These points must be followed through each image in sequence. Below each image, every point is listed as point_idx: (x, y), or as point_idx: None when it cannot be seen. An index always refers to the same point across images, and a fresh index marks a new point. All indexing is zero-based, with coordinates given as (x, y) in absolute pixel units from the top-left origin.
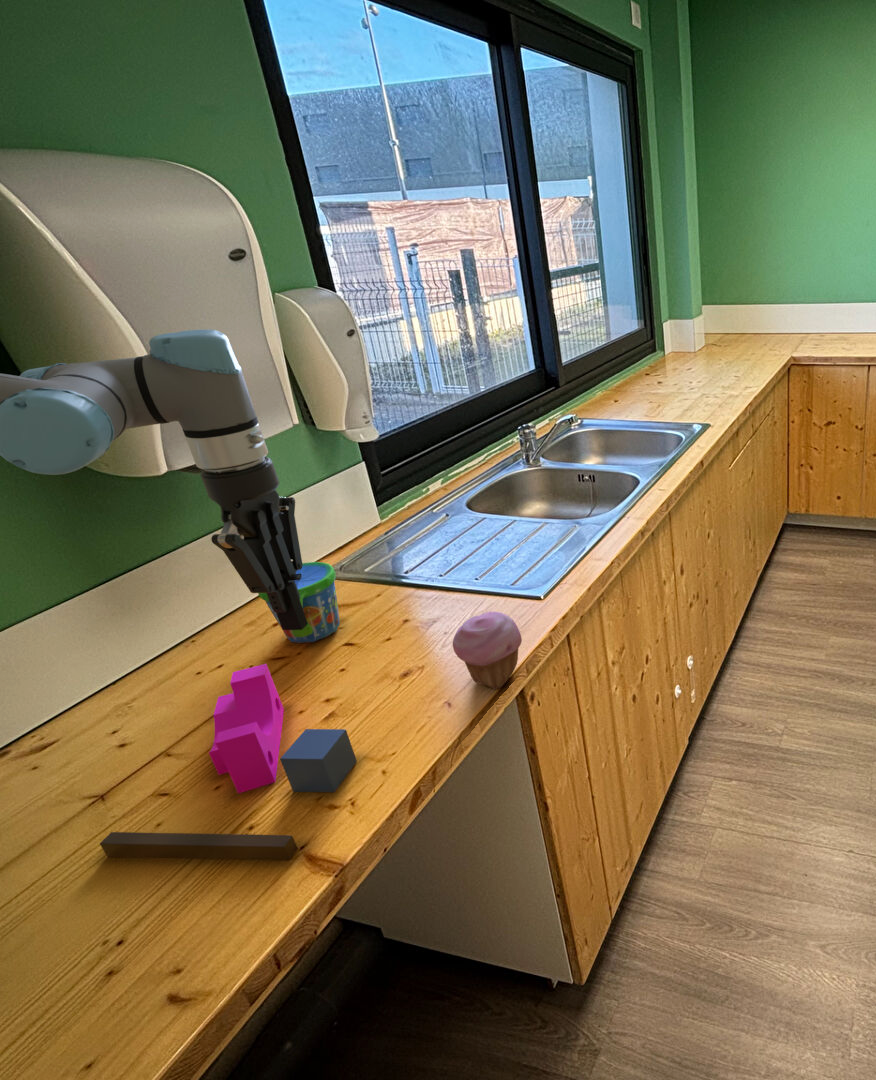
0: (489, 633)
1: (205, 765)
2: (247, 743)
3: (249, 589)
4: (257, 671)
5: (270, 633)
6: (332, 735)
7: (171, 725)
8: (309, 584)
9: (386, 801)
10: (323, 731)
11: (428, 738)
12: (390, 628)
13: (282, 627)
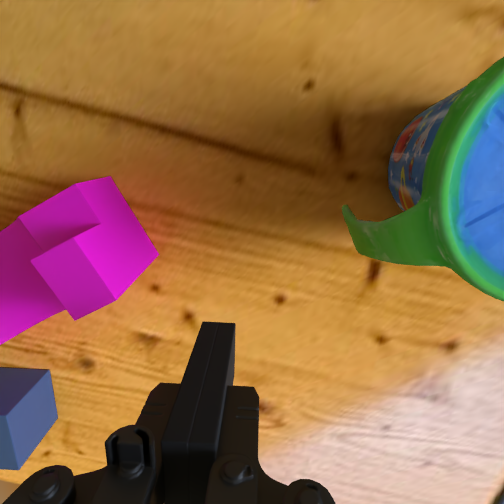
0: None
1: (8, 203)
2: None
3: (10, 497)
4: (82, 298)
5: (465, 35)
6: (1, 458)
7: (94, 41)
8: (500, 261)
9: (3, 471)
10: (6, 443)
11: None
12: (425, 327)
13: (200, 328)
